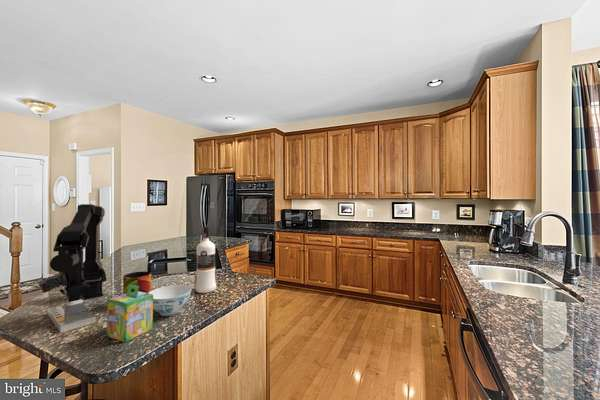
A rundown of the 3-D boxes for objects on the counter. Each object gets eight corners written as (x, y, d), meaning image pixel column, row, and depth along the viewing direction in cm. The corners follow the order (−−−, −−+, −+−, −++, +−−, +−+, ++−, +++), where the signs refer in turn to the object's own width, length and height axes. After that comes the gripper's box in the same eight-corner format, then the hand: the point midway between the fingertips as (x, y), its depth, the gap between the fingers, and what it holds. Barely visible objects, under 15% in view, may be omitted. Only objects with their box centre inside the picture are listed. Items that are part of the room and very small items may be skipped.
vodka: (219, 287, 125) (219, 225, 125) (211, 293, 115) (211, 227, 116) (200, 286, 125) (200, 225, 126) (191, 293, 116) (191, 227, 116)
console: (79, 306, 102) (79, 295, 102) (95, 322, 88) (95, 309, 88) (47, 314, 94) (47, 302, 94) (60, 332, 81) (60, 318, 81)
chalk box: (105, 337, 78) (106, 288, 78) (135, 324, 87) (135, 280, 87) (124, 343, 75) (125, 292, 75) (153, 329, 83) (154, 283, 83)
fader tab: (82, 312, 91) (82, 298, 91) (84, 314, 89) (84, 300, 89) (64, 317, 87) (64, 302, 87) (66, 319, 85) (66, 304, 85)
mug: (150, 295, 114) (150, 268, 114) (151, 305, 102) (151, 275, 103) (124, 299, 109) (124, 271, 109) (122, 310, 97) (122, 279, 98)
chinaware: (199, 305, 102) (199, 286, 102) (173, 323, 87) (173, 300, 87) (166, 302, 105) (166, 284, 105) (136, 319, 90) (136, 297, 90)
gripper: (36, 265, 90) (35, 310, 89) (45, 274, 78) (44, 325, 78) (77, 260, 98) (76, 300, 98) (91, 267, 87) (90, 313, 87)
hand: (72, 309), depth 90 cm, fingers closed
